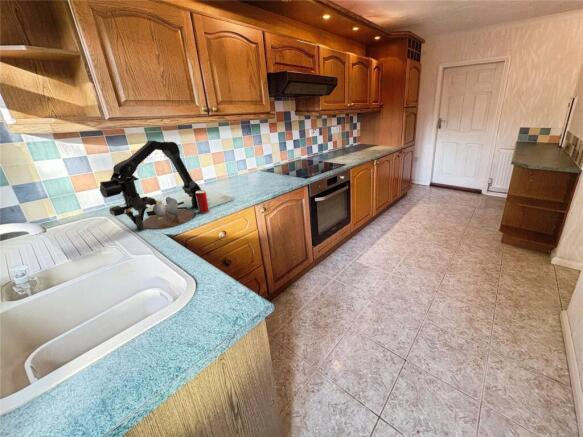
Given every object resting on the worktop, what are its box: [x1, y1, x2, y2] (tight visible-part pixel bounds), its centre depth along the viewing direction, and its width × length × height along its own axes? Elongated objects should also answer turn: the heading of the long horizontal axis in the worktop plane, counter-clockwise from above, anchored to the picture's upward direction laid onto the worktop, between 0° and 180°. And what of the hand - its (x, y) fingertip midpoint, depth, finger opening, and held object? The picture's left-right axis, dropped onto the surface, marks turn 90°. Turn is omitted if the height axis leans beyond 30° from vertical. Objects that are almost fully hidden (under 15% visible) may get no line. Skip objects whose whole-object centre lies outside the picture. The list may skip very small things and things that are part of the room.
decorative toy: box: [145, 196, 188, 220], centre depth 135 cm, size 12×10×20 cm
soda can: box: [196, 189, 210, 214], centre depth 141 cm, size 6×6×12 cm
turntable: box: [133, 209, 195, 232], centre depth 134 cm, size 29×25×7 cm
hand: (138, 222), depth 124 cm, fingers closed on turntable, 3 cm apart
